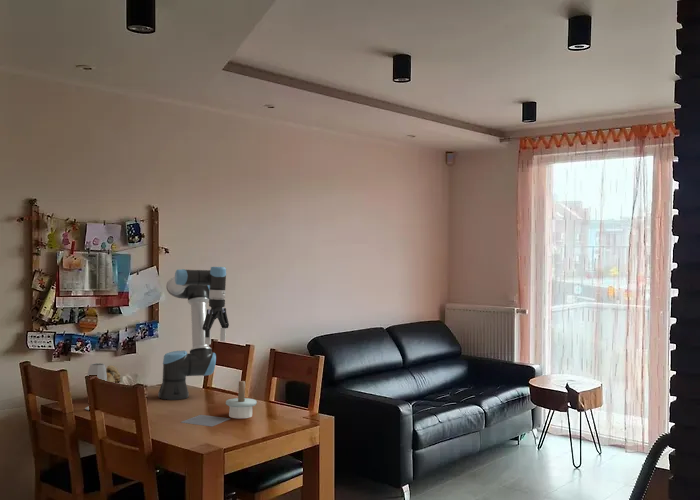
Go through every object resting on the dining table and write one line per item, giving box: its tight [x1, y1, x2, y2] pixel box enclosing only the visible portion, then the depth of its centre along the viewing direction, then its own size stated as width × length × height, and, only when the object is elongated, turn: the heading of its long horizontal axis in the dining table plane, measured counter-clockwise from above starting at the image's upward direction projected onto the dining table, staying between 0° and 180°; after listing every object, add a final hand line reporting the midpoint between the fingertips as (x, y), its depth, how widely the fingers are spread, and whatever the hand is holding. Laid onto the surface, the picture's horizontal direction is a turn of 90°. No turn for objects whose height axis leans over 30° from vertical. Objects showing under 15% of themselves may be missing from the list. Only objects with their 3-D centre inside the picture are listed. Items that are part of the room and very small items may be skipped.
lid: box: [225, 380, 257, 407], centre depth 303 cm, size 14×14×10 cm
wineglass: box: [84, 362, 107, 411], centre depth 307 cm, size 9×9×21 cm
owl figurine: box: [106, 364, 121, 384], centre depth 329 cm, size 18×12×17 cm, turn 21°
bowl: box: [228, 406, 254, 419], centre depth 303 cm, size 10×10×6 cm
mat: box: [180, 414, 231, 427], centre depth 291 cm, size 16×16×1 cm
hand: (215, 342), depth 316 cm, fingers open, 13 cm apart
